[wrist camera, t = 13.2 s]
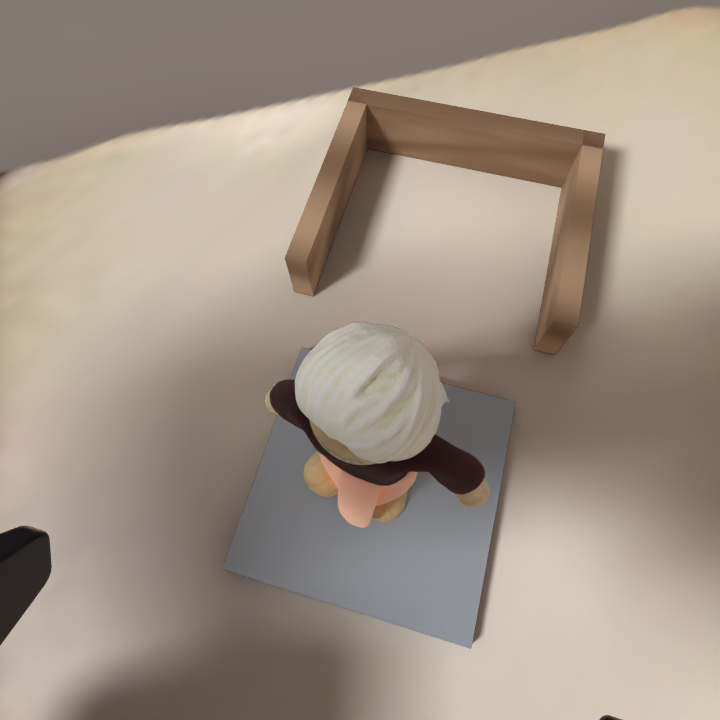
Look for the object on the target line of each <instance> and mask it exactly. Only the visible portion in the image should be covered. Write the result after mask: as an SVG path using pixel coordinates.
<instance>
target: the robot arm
mask: <svg viewBox="0 0 720 720" xmlns="http://www.w3.org/2000/svg"><path fill="white" fill-rule="evenodd" d="M51 567H52V566H51V552H50V539H49V536H48V534H47V533H46V532H45V531H42V530H39V529H36V528H33V527H30V526H20V527H17V528H14V529H11V530H9V531H6V532H4V533H1V534H0V645H1V644H2V643H3V641H4V640H5V638H6V637H7V636H8V634H9V633H10V632H11V630H12V629H13V627H14V626H15V625H16V623H17V622H18V621H19V619H20V618H21V617H22V615H23V614H24V612H25V611H26V610H27V608H28V607H29V606H30V604H31V603H32V602H33V600H34V599H35V597H36V596H37V595H38V593H39V592H40V591H41V589H42V588H43V587H44V585H45V584H46V582H47V580H48V578H49V576H50V573H51ZM600 720H622V719H619V718H616V717H613V716H610V715H605V716H602V717H601V718H600Z"/></svg>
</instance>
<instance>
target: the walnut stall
mask: <svg viewBox="0 0 720 720" xmlns="http://www.w3.org/2000/svg"><path fill="white" fill-rule="evenodd" d="M604 139H605V134H602V133H597V132H592V131H586V130H581V129H575V128H570V127H565V126H559V125H554V124H548V123H543V122H538V121H532V120H527V119H521V118H516V117H511V116H505V115H500V114H495V113H489V112H484V111H478V110H473V109H468V108H462V107H457V106H451V105H446V104H441V103H435V102H430V101H424V100H419V99H414V98H408V97H403V96H397V95H392V94H387V93H381V92H376V91H370V90H365V89H360V88H354V87H353V89H352V92H351V94H350V97H349V99H348V102H347V104H346V107H345V109H344V112H343V114H342V117H341V119H340V122H339V124H338V127H337V129H336V132H335V134H334V137H333V139H332V142H331V144H330V147H329V149H328V152H327V154H326V157H325V159H324V162H323V164H322V167H321V169H320V172H319V174H318V177H317V179H316V182H315V184H314V187H313V189H312V192H311V194H310V197H309V199H308V202H307V204H306V206H305V209H304V211H303V214H302V216H301V219H300V221H299V224H298V226H297V229H296V231H295V234H294V236H293V239H292V241H291V244H290V246H289V249H288V251H287V254H286V256H285V260H286V264H287V267H288V271H289V275H290V278H291V282H292V285H293V289H294V292H298V293H302V294H306V295H310V296H313V295H314V293H315V290H316V287H317V284H318V282H319V279H320V276H321V273H322V271H323V268H324V265H325V262H326V260H327V257H328V254H329V251H330V249H331V246H332V243H333V241H334V238H335V235H336V232H337V230H338V227H339V224H340V221H341V219H342V216H343V213H344V210H345V208H346V205H347V202H348V199H349V197H350V194H351V191H352V188H353V186H354V183H355V180H356V178H357V175H358V172H359V169H360V167H361V164H362V161H363V158H364V156H365V153H366V150H367V148H368V149H373V150H378V151H383V152H388V153H392V154H397V155H402V156H407V157H412V158H417V159H422V160H427V161H432V162H437V163H442V164H447V165H452V166H457V167H462V168H467V169H472V170H477V171H482V172H487V173H492V174H497V175H502V176H507V177H512V178H517V179H522V180H527V181H532V182H537V183H542V184H547V185H552V186H557V187H562V189H561V195H560V201H559V206H558V212H557V218H556V224H555V230H554V235H553V241H552V247H551V253H550V258H549V264H548V270H547V276H546V281H545V287H544V293H543V299H542V305H541V310H540V316H539V322H538V328H537V333H536V339H535V345H534V350H538V351H542V352H546V353H550V354H554V355H555V354H556V353H557V352H558V350H559V349H560V348H561V347H562V346H563V344H564V343H565V342H566V341H567V339H568V338H569V337H570V336H571V335H572V333H573V332H574V331H575V330H576V328H577V327H578V324H579V317H580V310H581V303H582V296H583V289H584V282H585V274H586V267H587V260H588V253H589V246H590V239H591V232H592V225H593V217H594V210H595V203H596V196H597V189H598V182H599V175H600V168H601V160H602V153H603V146H604Z"/></svg>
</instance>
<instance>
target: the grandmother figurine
mask: <svg viewBox="0 0 720 720" xmlns="http://www.w3.org/2000/svg"><path fill="white" fill-rule="evenodd" d="M445 402H447V403H449V399H448V398H447V394H446V392H445V390H444V387H443V385H442V383H441V381H440V377H439V370H438V367H437V363H436V361H435V359H434V358H433V356H432V355H431V354H430V352H429V351H428V349H427V348H426V346H425V345H424V344H422V343H421V342H419V341H418V340H416V339H414V338H412V337H411V336H410V335H409V334H408V333H406V332H405V331H403V330H401V329H399V328H396V327H393V326H390V325H380V324H377V325H374V324H371V323H367V322H357V323H352V324H349V325H346V326H344V327H342V328H340V329H336V330H333V331H332V332H330V333H328V334H327V335H326V336H325V337H324V338H323V339H321V340H320V341H319V342H318V344H317V345H316V346H315V347H314V348H313V349H312V350H311V351H310V352H309V354H308V355H307V356H306V357H305V359H304V360H303V362H302V363H301V365H300V367H299V370H298V372H297V374H296V378H295V380H283V381H280V382H278V383H277V384H276V385H275V386H274V387H272V388H271V389H270V390H269V391H268V392H267V394H266V396H265V404H266V407H267V408H268V410H269V411H270V412H271V413H273V414H276V415H279V416H281V417H282V418H283V419H284V420H286V421H288V422H289V423H291V424H293V425H294V426H296V427H298V428H300V429H302V430H303V431H304V432H305V433H306V435H307V437H308V438H309V440H310V442H311V443H312V444H313V446H314V447H315V449H316V450H317V452H316V453H315V454H313V455H312V456H311V457H310V458H309V459H308V461H307V462H306V464H305V466H304V471H303V475H304V480H305V482H306V484H307V486H308V487H309V488H310V489H311V490H312V491H313V492H315V493H316V494H317V495H320V496H323V497H332V496H336V495H338V508H339V511H340V513H341V515H342V516H343V517H344V519H345V520H346V521H347V522H348V523H350V524H352V525H354V526H357V527H360V528H366V527H368V526H369V525H370V524H371V519H374V520H377V521H380V522H388V521H392V520H394V519H396V518H397V517H399V515H400V514H401V513H402V512H403V510H404V507H405V503H406V498H407V492H408V489H409V488H410V487H411V486H412V485H413V483H414V482H415V480H416V476H417V472H429V473H430V474H431V475H432V476H433V477H434V478H435V479H436V480H437V482H439V483H440V484H442V485H443V486H444V487H446V488H447V489H448V490H449V491H451V492H453V493H454V494H455V495H457V497H458V499H459V500H460V502H461V503H462V504H464V505H465V506H467V507H472V508H475V507H480V506H482V505H483V504H484V503H485V502H486V501H487V499H488V497H489V487H488V484H487V482H486V481H485V480H484V477H485V469H484V467H483V465H482V464H481V462H480V461H479V460H478V459H477V458H476V457H474V456H473V455H471V454H470V453H468V452H466V451H464V450H462V449H460V448H458V447H456V446H454V445H452V444H451V443H449V442H448V441H446V440H444V439H442V438H441V437H439V436H438V435H436V434H435V433H436V431H437V428H438V425H439V421H440V416H441V407H442V406H443V404H444V403H445Z"/></svg>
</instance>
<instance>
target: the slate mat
mask: <svg viewBox="0 0 720 720" xmlns="http://www.w3.org/2000/svg"><path fill="white" fill-rule="evenodd" d="M310 351H311V349H307V348H303V347H302V348H301V351H300V354H299V357H298V359H297V362H296V365H295V368H294V370H293V373H292V376H291V379H290V380H295V378H296V374H297V372H298V370H299V367H300V365H301V363H302V362H303V360H304V359H305V357H306V356H307V355H308V354H309V352H310ZM442 385H443V387H444V390H445V392H446V394H447V398H448V399H449V403H447V402H445V403H444V404H443V406H442V407H441V416H440V421H439V425H438V428H437V431H436V433H435V434H436V435H438V436H439V437H441V438H442V439H444V440H446V441H448V442H449V443H451V444H452V445H454V446H456V447H458V448H460V449H462V450H464V451H466V452H468V453H470V454H471V455H473V456H474V457H476V458H477V459H478V460H479V461H480V462H481V464H482V465H483V467H484V469H485V477H484V480H485V481H486V482H487V484H488V487H489V497H488V499H487V501H486V502H485V503H484V504H483V505H482V506H480V507H475V508H472V507H467V506H465V505H464V504H462V503H461V502H460V500H459V499H458V497H457V495H455V494H454V493H453V492H451V491H449V490H448V489H447V488H446V487H444V486H443V485H442V484H440V483H439V482H437V480H436V479H435V478H434V477H433V476H432V475H431V474H430V473H429V472H417V476H416V480H415V482H414V483H413V485H412V486H411V487H410V488H409V489H408V492H407V498H406V503H405V507H404V510H403V512H402V513H401V514H400V515H399V517H397V518H396V519H394V520H392V521H388V522H380V521H377V520H374V519H371V524H370V525H369V526H368V527H366V528H360V527H357V526H354V525H352V524H350V523H348V522H347V521H346V520H345V519H344V517H343V516H342V515H341V513H340V511H339V508H338V495H336V496H332V497H323V496H320V495H317V494H316V493H315V492H313V491H312V490H311V489H310V488H309V487H308V486H307V484H306V482H305V480H304V475H303V471H304V466H305V464H306V462H307V461H308V459H309V458H310V457H311V456H312V455H313V454H315V453H316V452H317V450H316V449H315V447H314V446H313V444H312V443H311V442H310V440H309V438H308V437H307V435H306V433H305V432H304V431H303V430H302V429H300V428H298V427H296V426H294V425H293V424H291V423H289V422H288V421H286V420H284V419H283V418H282V417H281V416H279V415H277V418H276V421H275V423H274V426H273V429H272V432H271V435H270V437H269V440H268V443H267V446H266V448H265V451H264V454H263V457H262V460H261V462H260V465H259V468H258V471H257V473H256V476H255V479H254V482H253V485H252V487H251V490H250V493H249V496H248V499H247V501H246V504H245V507H244V510H243V512H242V515H241V518H240V521H239V524H238V526H237V529H236V532H235V535H234V538H233V540H232V543H231V546H230V549H229V551H228V554H227V557H226V560H225V563H224V565H223V568H222V569H223V570H226V571H230V572H233V573H236V574H239V575H242V576H245V577H248V578H251V579H255V580H258V581H261V582H264V583H267V584H270V585H273V586H276V587H280V588H283V589H286V590H289V591H292V592H295V593H298V594H301V595H305V596H308V597H311V598H314V599H317V600H320V601H323V602H326V603H330V604H333V605H336V606H339V607H342V608H345V609H348V610H351V611H355V612H358V613H361V614H364V615H367V616H370V617H373V618H376V619H380V620H383V621H386V622H389V623H392V624H395V625H398V626H402V627H405V628H408V629H411V630H414V631H417V632H420V633H423V634H427V635H430V636H433V637H436V638H439V639H442V640H445V641H448V642H452V643H455V644H458V645H461V646H464V647H467V648H470V649H471V647H472V642H473V636H474V631H475V625H476V620H477V614H478V608H479V603H480V597H481V592H482V586H483V581H484V575H485V570H486V564H487V558H488V553H489V547H490V542H491V536H492V531H493V525H494V520H495V514H496V508H497V503H498V497H499V492H500V486H501V481H502V475H503V470H504V464H505V458H506V453H507V447H508V442H509V436H510V431H511V425H512V420H513V414H514V409H515V403H516V402H514V401H510V400H506V399H502V398H498V397H494V396H491V395H487V394H483V393H479V392H475V391H471V390H467V389H463V388H459V387H455V386H451V385H447V384H444V383H442Z"/></svg>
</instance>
